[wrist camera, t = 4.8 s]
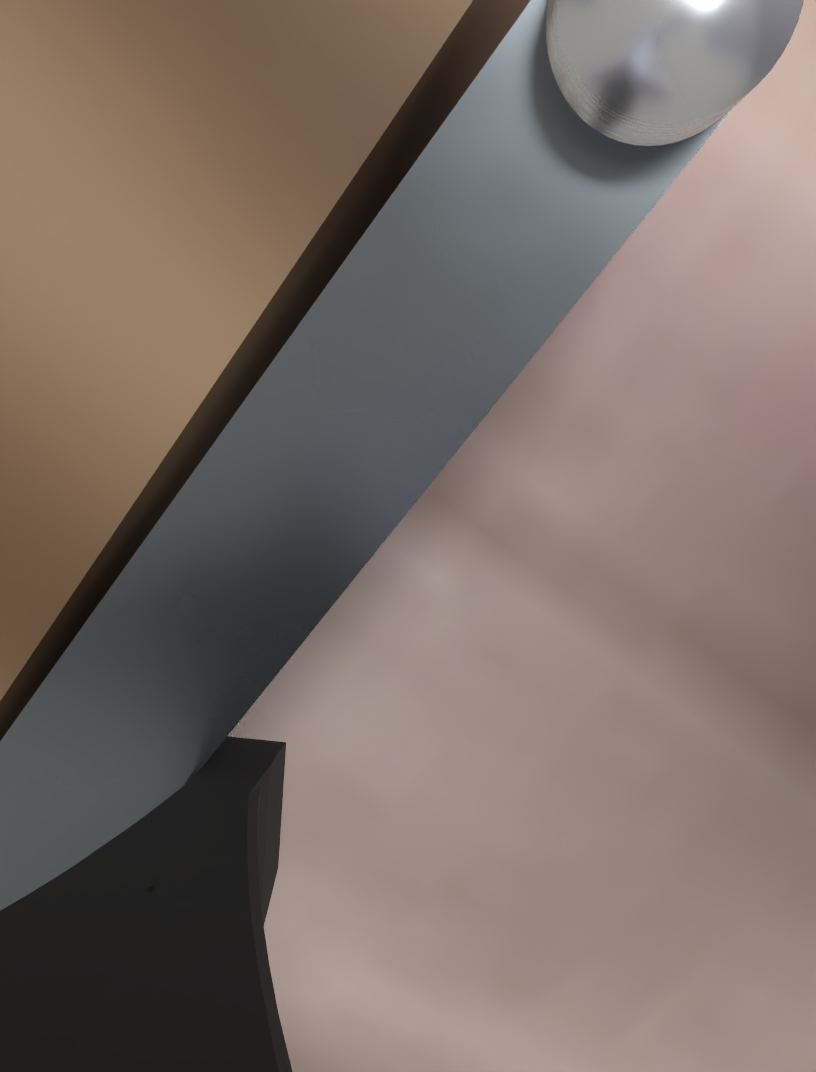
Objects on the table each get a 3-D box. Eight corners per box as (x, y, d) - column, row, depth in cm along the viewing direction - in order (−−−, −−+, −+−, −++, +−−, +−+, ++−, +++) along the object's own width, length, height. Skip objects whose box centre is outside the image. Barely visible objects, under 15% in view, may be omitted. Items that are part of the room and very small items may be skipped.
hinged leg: (569, 34, 8) (678, -231, 5) (681, 137, 8) (859, -42, 5) (-7, 816, 11) (-204, 1009, 7) (90, 880, 11) (-56, 1093, 8)
